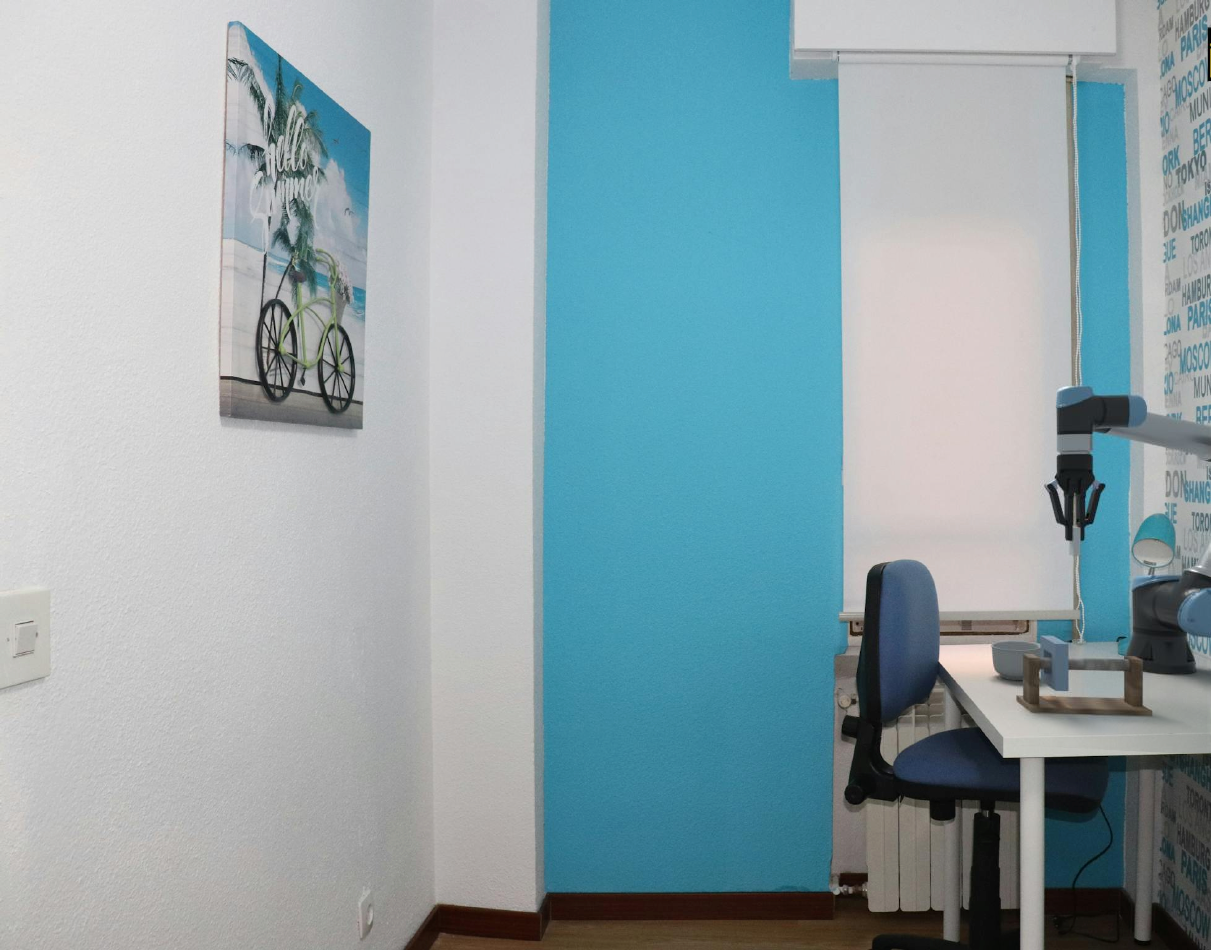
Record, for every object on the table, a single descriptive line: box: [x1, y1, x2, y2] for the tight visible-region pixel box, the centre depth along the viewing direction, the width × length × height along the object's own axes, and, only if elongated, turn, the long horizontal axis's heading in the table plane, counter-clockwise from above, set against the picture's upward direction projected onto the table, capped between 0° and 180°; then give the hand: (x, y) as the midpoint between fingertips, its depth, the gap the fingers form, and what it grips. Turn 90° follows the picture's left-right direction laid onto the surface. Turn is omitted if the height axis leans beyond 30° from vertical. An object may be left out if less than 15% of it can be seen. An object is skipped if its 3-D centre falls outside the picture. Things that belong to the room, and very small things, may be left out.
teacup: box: [990, 639, 1041, 681], centre depth 221 cm, size 14×11×8 cm
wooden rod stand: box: [1015, 654, 1153, 717], centre depth 192 cm, size 23×10×10 cm, turn 82°
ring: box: [1039, 635, 1070, 692], centre depth 193 cm, size 2×9×10 cm, turn 172°
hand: (1074, 555), depth 215 cm, fingers closed
